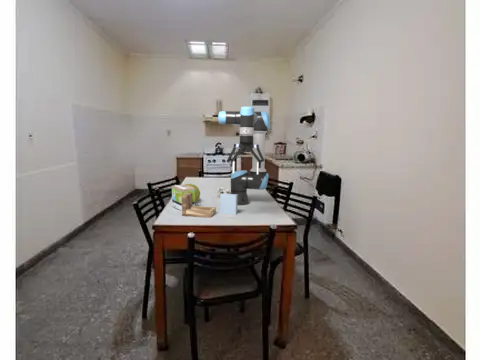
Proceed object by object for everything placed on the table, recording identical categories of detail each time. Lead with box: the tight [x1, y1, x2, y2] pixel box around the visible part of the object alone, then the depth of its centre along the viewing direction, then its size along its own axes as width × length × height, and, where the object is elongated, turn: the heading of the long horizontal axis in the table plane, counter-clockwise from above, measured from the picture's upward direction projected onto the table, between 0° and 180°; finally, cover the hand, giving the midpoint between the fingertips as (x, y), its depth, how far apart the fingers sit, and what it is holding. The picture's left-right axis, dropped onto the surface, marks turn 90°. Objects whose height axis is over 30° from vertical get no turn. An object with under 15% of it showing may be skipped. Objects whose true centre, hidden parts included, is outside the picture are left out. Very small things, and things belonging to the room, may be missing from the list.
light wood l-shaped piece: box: [181, 193, 217, 219], centre depth 206 cm, size 12×18×12 cm, turn 79°
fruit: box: [184, 183, 201, 203], centre depth 237 cm, size 16×14×15 cm
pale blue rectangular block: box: [219, 193, 238, 216], centre depth 210 cm, size 4×10×12 cm, turn 79°
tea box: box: [171, 184, 196, 212], centre depth 221 cm, size 15×10×15 cm
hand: (245, 173), depth 187 cm, fingers open, 13 cm apart
